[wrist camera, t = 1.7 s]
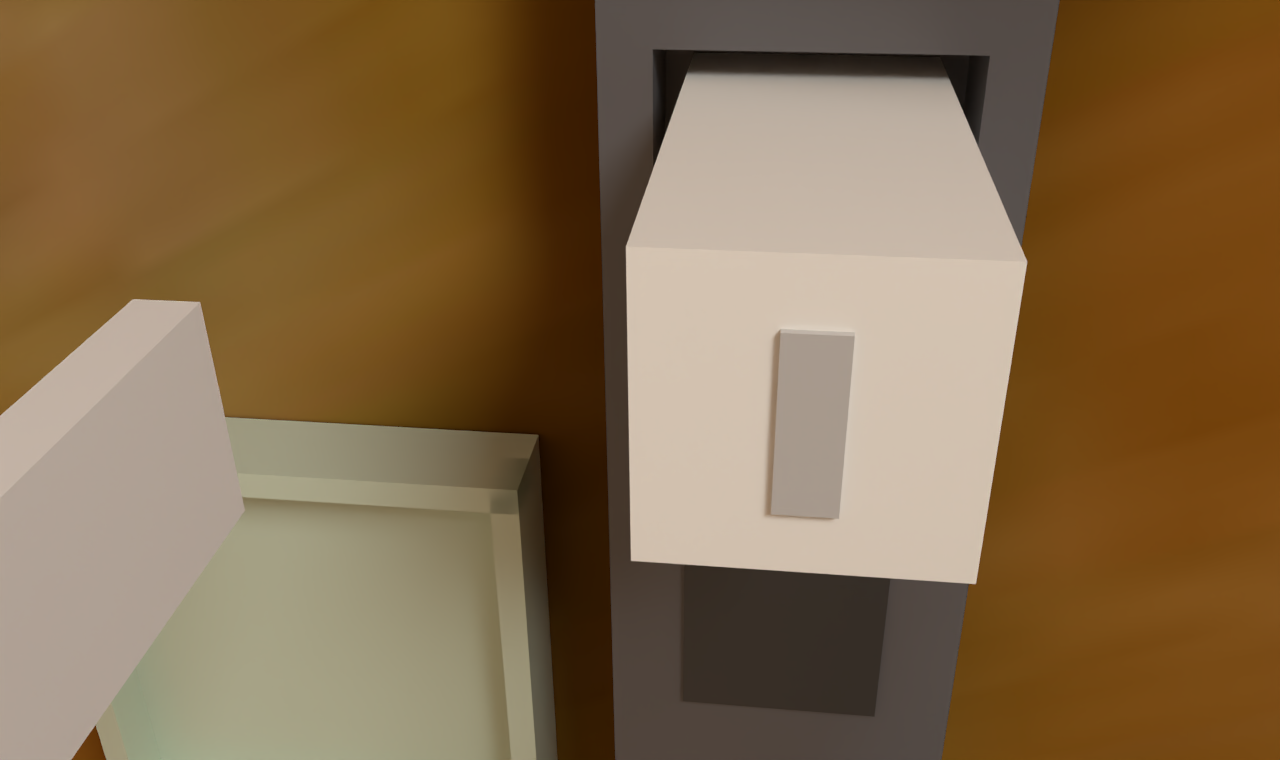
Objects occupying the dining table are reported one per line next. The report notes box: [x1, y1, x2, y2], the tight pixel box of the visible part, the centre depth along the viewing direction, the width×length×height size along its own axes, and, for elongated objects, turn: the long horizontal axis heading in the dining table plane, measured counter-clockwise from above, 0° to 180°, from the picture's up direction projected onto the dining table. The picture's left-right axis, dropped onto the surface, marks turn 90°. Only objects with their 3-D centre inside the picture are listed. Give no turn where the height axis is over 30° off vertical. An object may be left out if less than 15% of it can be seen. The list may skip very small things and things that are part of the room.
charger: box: [626, 53, 1027, 584], centre depth 17 cm, size 4×4×9 cm
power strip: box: [595, 0, 1060, 760], centre depth 24 cm, size 30×7×4 cm, turn 0°
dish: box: [96, 417, 558, 760], centre depth 28 cm, size 11×11×2 cm
